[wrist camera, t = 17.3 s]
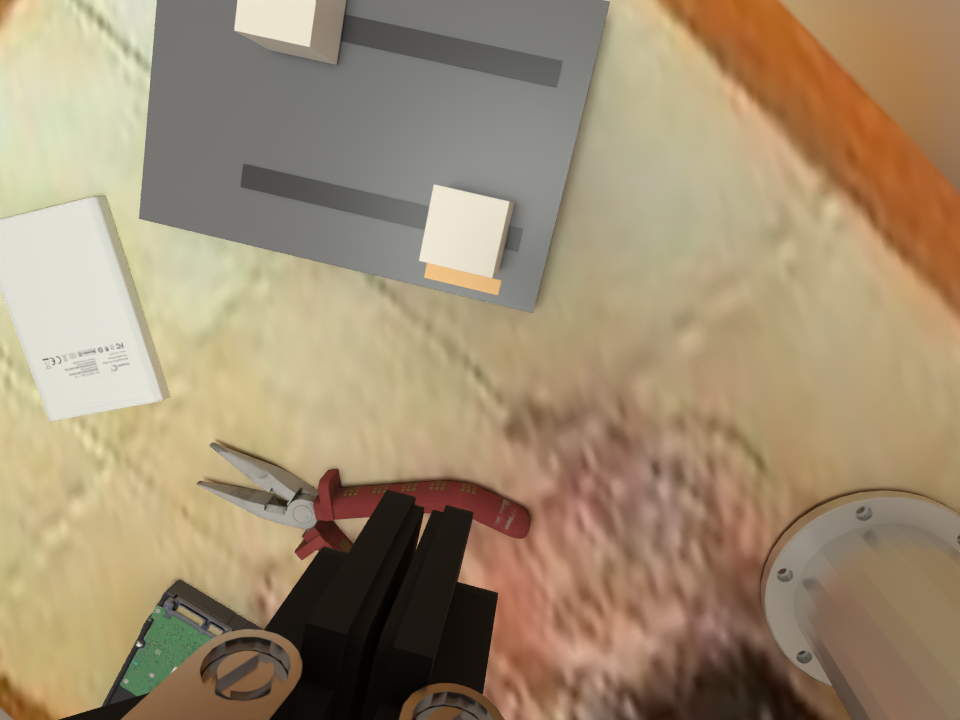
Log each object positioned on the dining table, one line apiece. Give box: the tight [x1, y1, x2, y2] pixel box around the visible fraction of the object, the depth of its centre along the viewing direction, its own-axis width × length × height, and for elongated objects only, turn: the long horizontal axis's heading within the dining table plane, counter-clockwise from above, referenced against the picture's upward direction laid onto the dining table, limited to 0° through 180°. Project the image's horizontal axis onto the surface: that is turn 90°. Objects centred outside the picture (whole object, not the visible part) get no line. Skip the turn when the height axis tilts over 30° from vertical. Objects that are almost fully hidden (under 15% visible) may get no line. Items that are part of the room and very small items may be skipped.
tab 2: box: [419, 184, 514, 278], centre depth 30 cm, size 4×4×4 cm
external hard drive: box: [0, 196, 170, 421], centre depth 39 cm, size 2×8×12 cm
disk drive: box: [102, 580, 263, 707], centre depth 44 cm, size 10×3×15 cm
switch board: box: [139, 0, 610, 313], centre depth 33 cm, size 22×15×3 cm
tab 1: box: [234, 0, 346, 65], centre depth 29 cm, size 4×4×4 cm
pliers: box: [197, 443, 530, 560], centre depth 39 cm, size 12×20×3 cm, turn 68°
